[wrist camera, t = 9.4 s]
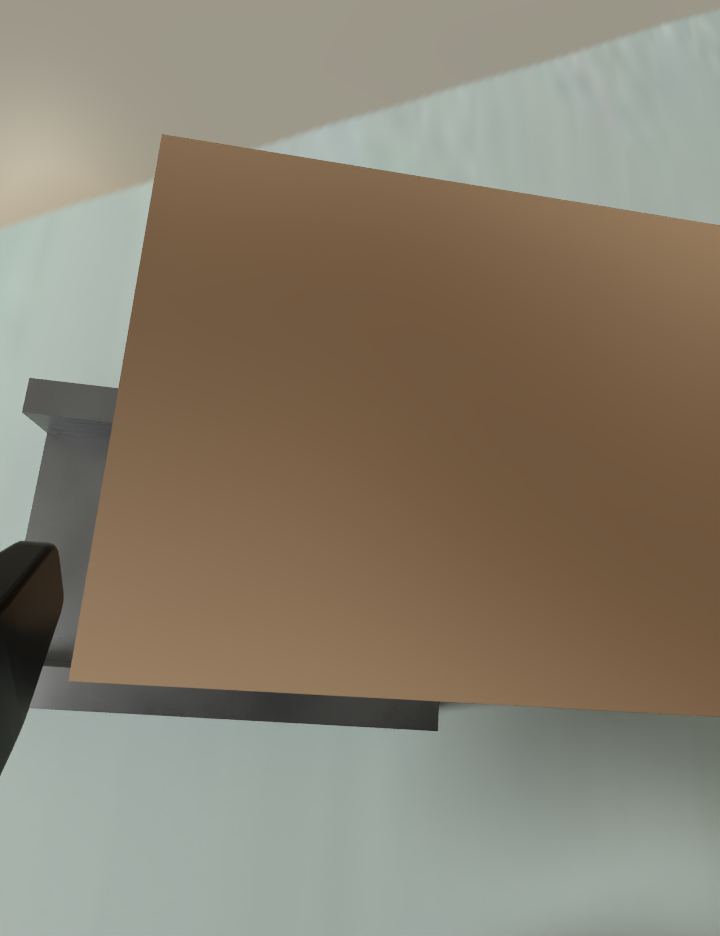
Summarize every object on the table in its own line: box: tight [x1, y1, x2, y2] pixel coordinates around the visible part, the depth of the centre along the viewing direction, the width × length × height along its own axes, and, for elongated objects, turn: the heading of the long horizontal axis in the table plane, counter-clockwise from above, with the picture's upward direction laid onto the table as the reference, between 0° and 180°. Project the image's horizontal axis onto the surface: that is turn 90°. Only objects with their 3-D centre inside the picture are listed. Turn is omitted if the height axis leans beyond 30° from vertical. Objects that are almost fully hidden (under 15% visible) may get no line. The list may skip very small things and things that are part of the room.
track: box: [22, 378, 439, 731], centre depth 18 cm, size 12×8×3 cm
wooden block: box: [69, 134, 720, 717], centre depth 12 cm, size 4×6×15 cm, turn 86°
